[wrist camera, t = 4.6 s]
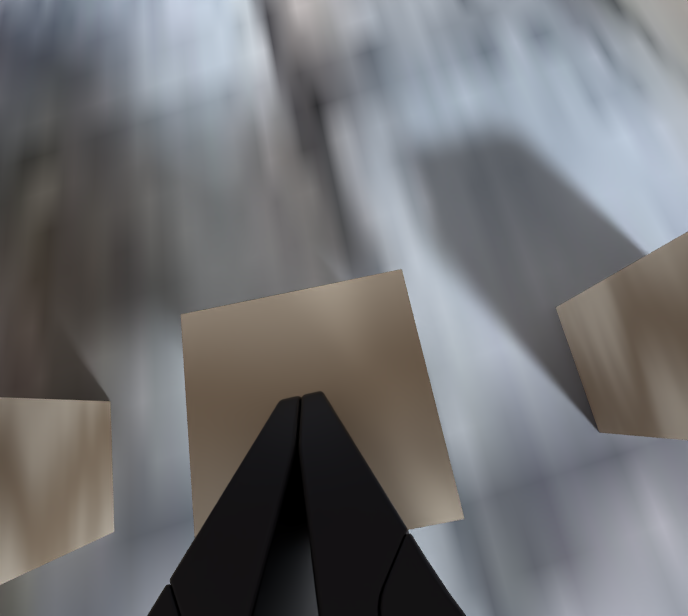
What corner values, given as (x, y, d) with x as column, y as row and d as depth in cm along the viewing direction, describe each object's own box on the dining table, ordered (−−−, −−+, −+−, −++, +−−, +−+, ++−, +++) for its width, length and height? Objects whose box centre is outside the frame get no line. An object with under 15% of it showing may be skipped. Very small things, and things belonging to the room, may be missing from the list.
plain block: (418, 470, 15) (464, 518, 7) (289, 495, 15) (196, 569, 7) (389, 343, 16) (401, 268, 9) (272, 366, 16) (180, 314, 9)
